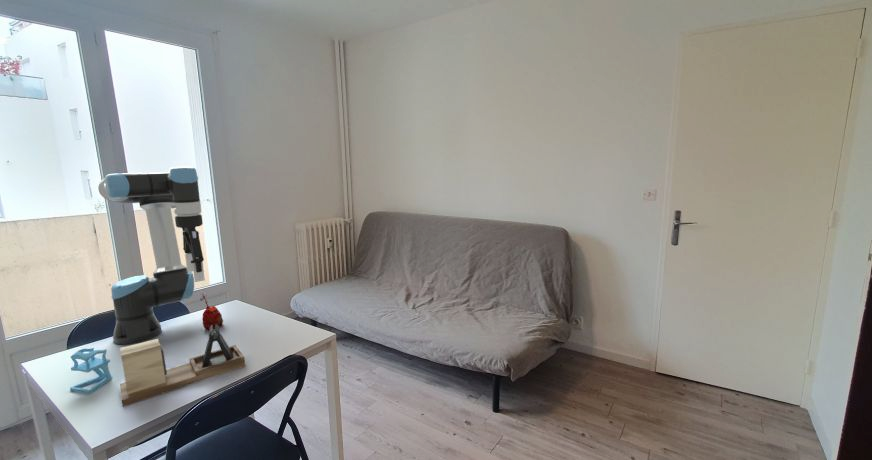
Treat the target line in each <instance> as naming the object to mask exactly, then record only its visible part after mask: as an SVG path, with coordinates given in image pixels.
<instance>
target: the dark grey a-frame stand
mask: <svg viewBox="0 0 872 460" xmlns="http://www.w3.org/2000/svg"><path fill="white" fill-rule="evenodd" d="M213 331H214V332H213ZM214 342H217V344H218V345H219V348H220V349H221V350H222V352H223V354H224V356H220V357H215V358H211V359H210V355H211V352H212V350H213V343H214ZM229 347H230V345H228V343H227V341H226V340H225V338H224V337H223V335H222V334H221V331H220V327H219V326H218V325H217V324H215V330H213V325H211V326H210V328H209V330H208V339H207V343H206V346H205V350H204V353H203V354H204V357H203V361H202V368H205V367H208V366H211V365H214V364H217V363H220V362H224V361H227V360H230V359H233V353H232V351H231V350H230V348H229Z"/></svg>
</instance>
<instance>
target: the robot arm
mask: <svg viewBox="0 0 872 460" xmlns="http://www.w3.org/2000/svg"><path fill="white" fill-rule="evenodd" d="M98 192H99V194H100V196H101V197H102V198H103V199H105V200H107V201H110V202H114V203H119V204H138V203H139V208H140V209H142V210H143V211H145V214H146V220H147V225H148V231H149V236H150V239H151V240H150V241H151V246H152V250H153V255H154V261H155V265H156V269H155V270H154V271H153V272H152V275H153V277H148V276H147V275H145V274H142V275H135V276H131V277H127V278H125V279H121V280H119V281H117V282H116V283H114V284H113V285H112V286H111V288H110V290H111V300H112V303H113V310H114V315H115V327H114V330H113V335H112V340H113V343H114V344H115V345H130V344H131V345H133V344H138V343H142V342H146V341H149V340H150V339H152V338H155V337H157V336H158V335H160V334H161V332H162V325H161V323H160V321H159V320H158V319H157V317H156V315H155V313H154V307H160V306H163V305H167V304H173V303H176V302H181V301H185V300H188V299H190V298H191V297H192V296H193V295H194V290H195V283H196V282H197V283H198V282H203V281H206V280H205V273H204V272H205V270H204V263H203V262H204V260H205V258H204V256H203V255H204V254H203V250H202V245H201V241H200V232H199V230H197V229H196V227H201V226H202V225H203V224H204V223H203V217H202V216H203V215H202V214H201V213H202V206H201V205H202V204H201V199H200V189H199V176H198V173H197V169H196V168H195V167H193V166H191V167H190V166H175V167H170V168H169V170H168V172H145V173H144V172H143V173H142V172H138V173H137V172H135V173H134V172H130V173H127V172H126V173H121V172H120V173H119V172H118V173H117V172H116V173H109V174H106V176H105V178H102V180H101V181H100V182H99V184H98ZM171 209H173V210H174V211H173V212H174V215H175V216H174V219H173V214H172V210H171ZM174 221H175V224H174ZM175 226H176V227H175ZM175 228H178V229H179V228H180V229H182V241H183V243H182V245H183V246H182V247H183V252H184V256H185V265H184V264H183V263H182V261H181V259H182V258H181V255H180V250H179V249H180V248H179V245H178V239H177V234H176V229H175Z"/></svg>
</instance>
